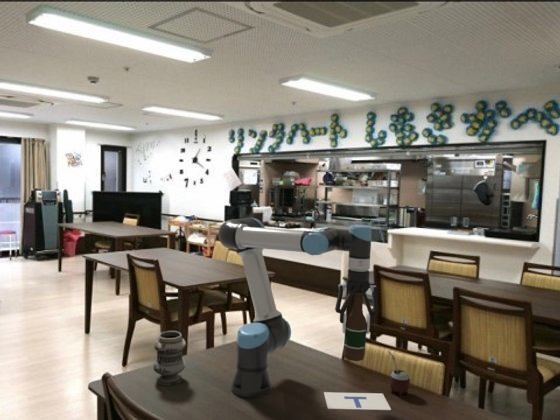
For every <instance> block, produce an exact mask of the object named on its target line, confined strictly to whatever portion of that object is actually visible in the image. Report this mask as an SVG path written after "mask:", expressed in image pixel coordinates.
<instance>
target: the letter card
mask: <svg viewBox="0 0 560 420" xmlns="http://www.w3.org/2000/svg"><path fill="white" fill-rule="evenodd" d="M323 394H324V398H325V402H326V407H327V410H359V411H360V410H365V411H369V410H370V411H392V408H391V406H390V404H389V403H388V400H387V399H386V397H385V396H384V393H375V392H374V393H373V392H330V391H329V392H328V391H323Z"/></svg>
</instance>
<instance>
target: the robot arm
mask: <svg viewBox="0 0 560 420" xmlns="http://www.w3.org/2000/svg"><path fill="white" fill-rule="evenodd" d="M217 234H218V235H217V237H218V240H219V241H220V243H221V245H222V246H223V247H224V248H226V249H229V250H230V249H231V250H235V251H236V255H238V256H240V258H241V260H242V264H243V269H244V272H245V276H246V281H247V284H248V288H249V292H250V297H251V301H252V304H253V308H254V314H255V317H254V319H253V322H251V323H246V324H244V325H242V326H241V327H239V329H238V330H237V336H236V369H235V372H234V375H233V377H232V380H231V383H230V385H231V387H230V388H231V391H232V393H233V394H235V395H236V396H239V397H242V398H248V399H249V398H251V399H253V398H260V397H264V396H267V395H268V394H270V393H271V392H272V387H273V386H272V385H273V383H272V380H271V375H270V371H269V369H268V364H269V356H270V355H272V354H273V353H274V352H276V351H278V350H281V349H282V348H283V347H284V346H286V345H287V344H288V343H289V342H290V339H291V337H292V329H291V325H290V323H289V322H288V320H286V319H285V318H284V317H283V315H282V312H281V311H280V310H278V309H277V306H276V303H275V297H274V295H273V291H272V290H273V289H272V286H271V283H270V279H269V274H268V270H267V267H266V263H265V258H264V255H263V251H264V249H265V250H275V251H276V250H277V251H286V252H287V251H288V252H297V253H298V252H299V253H305V254H308V255H310V256H319V255H320V256H321V255H322V254H325V253H329V252H333V251H343V252H348V262H347V263H348V264H347V267H348V268H349V269H348V270H347V280H346V283H345V284H344V283H342V284H341V283H339V284H337V285H338V294H337V298H336V304H335V308H334V310H335V313H337V314H339V322H340V324H342V325H341V331H342V334H345V329H346V321H347V314H346V311H347V309H348V307H349V304H350V303H351V301H352V300H353V298H354V296H355V295H354V293H355V292H362V294H363V301H364V304H365V307H366V308H367V312H368V313H366V315H365V318H366V322H367V330H366V335H370V326H371V325H373V323H374V322H373V320H374V315H378V314H379V305H378V304H379V303H378V296H377V294H378V293H377V292H378V287H377V285H376V284H375V285H374V284H373V285H372V284H370V271H369V270H370V266H371V249H372V241H373V240H372V229H371V227H370V226H368V225H359V224H358V225H351V226H350V228H349V230H347V229H346V230H345V229H337V228H331V227H329V228H327V227H321V228H320V229H318V231H313V230H312V231H311V230H298V229H283V228H281V229H280V228H270V227H268V228H267V227H265V225H264V223H263V222H262V221H260V220H259V219H257V218H254V217H244V218H243V217H242V218H233V219H227V220H226V221H224V222H223V223H222V224H221V226H220V227H219V229H218V233H217ZM346 289H347V290H348V291H347V292H348V293H347V295H346V297H345V300H344V301H343V303H342V300H343V296H344V291H345V290H346ZM369 289H370V292H371V298H372V300H371V301H372V306H373V307H372V306H371V304H370V301H369V299H368V298H369V297H368V296H367V292H368V291H369ZM341 304H342V305H341Z"/></svg>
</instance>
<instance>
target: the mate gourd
mask: <svg viewBox="0 0 560 420" xmlns="http://www.w3.org/2000/svg"><path fill="white" fill-rule="evenodd" d="M387 352H388V354H390V356H391V358H392V361H393V364H394V367H395V370H393V371H392V372H391V374H390V376H389V377H390V378H389V384H390V389H391V390H390V394H393V395H394V394H395V395H398V396H399V397H400V398H403V395H408V394H409V393H408V390H409V388H410V382H411V381H410V375H409V374H408V373H407V371H405V370H402V369H398V367H397V363H396V360H395V359H396V358H395V356H394V355H393V354H392V353H391V352H390V351H389V350H388V349H387Z"/></svg>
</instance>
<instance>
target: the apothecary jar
mask: <svg viewBox="0 0 560 420" xmlns="http://www.w3.org/2000/svg"><path fill="white" fill-rule="evenodd" d="M182 336H183V335H182V333H181V332H180V331H177V330H167V331H163V332H161V333H159V335H158V338H157V339H156V340H155V341H154V345H153V346H154V349H155V351H156V360H155V361H154V363H153V366H152V367H153V370H154V372H155V373H157V374H158V375H159V376H157V377H156V379H155V381H156V383H157V384H159V385H161V386H171V385H177V384H179V383H181V382H182V380H183V377H182V375H180V373H182V372H183V371H184V369H185V368H186V365H187V364H186V361H185V360H184V358H183V350H184V349H185V347H186V344H187V343H186V340H185V339H184V338H183V337H182Z"/></svg>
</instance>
